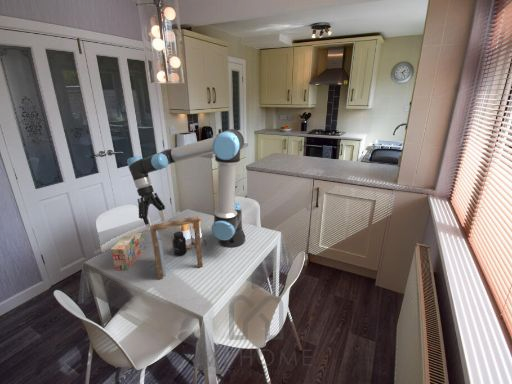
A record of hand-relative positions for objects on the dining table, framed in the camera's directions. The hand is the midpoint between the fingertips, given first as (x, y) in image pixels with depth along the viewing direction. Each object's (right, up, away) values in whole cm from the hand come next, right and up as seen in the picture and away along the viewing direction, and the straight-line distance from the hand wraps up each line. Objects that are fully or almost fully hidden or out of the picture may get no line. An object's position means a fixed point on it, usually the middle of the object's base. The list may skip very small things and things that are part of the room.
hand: (157, 225), depth 140 cm
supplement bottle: (+10, -16, +6) cm, 20 cm away
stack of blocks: (-15, -18, +2) cm, 23 cm away
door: (+4, -20, -7) cm, 21 cm away
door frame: (+15, -21, -10) cm, 28 cm away
